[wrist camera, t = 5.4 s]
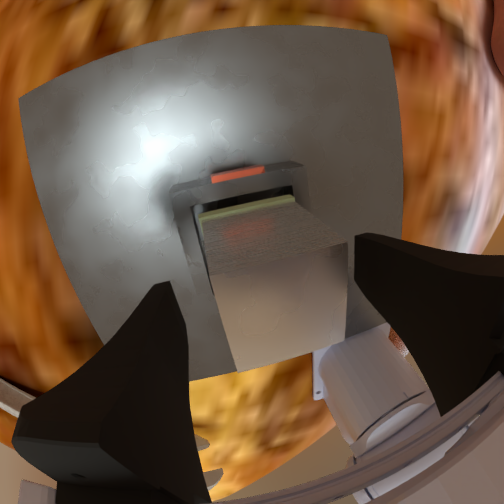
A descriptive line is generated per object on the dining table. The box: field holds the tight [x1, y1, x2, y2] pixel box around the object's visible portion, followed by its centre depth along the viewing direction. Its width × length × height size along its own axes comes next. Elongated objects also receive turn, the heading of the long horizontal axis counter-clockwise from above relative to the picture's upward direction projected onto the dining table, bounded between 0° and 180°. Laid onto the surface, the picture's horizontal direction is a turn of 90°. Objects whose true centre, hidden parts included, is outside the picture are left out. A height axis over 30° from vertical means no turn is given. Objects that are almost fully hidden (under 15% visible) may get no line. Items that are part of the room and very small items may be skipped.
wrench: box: [0, 378, 223, 490], centre depth 19 cm, size 8×2×30 cm
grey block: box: [198, 194, 348, 373], centre depth 11 cm, size 4×4×5 cm
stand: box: [19, 25, 403, 381], centre depth 15 cm, size 22×22×4 cm
